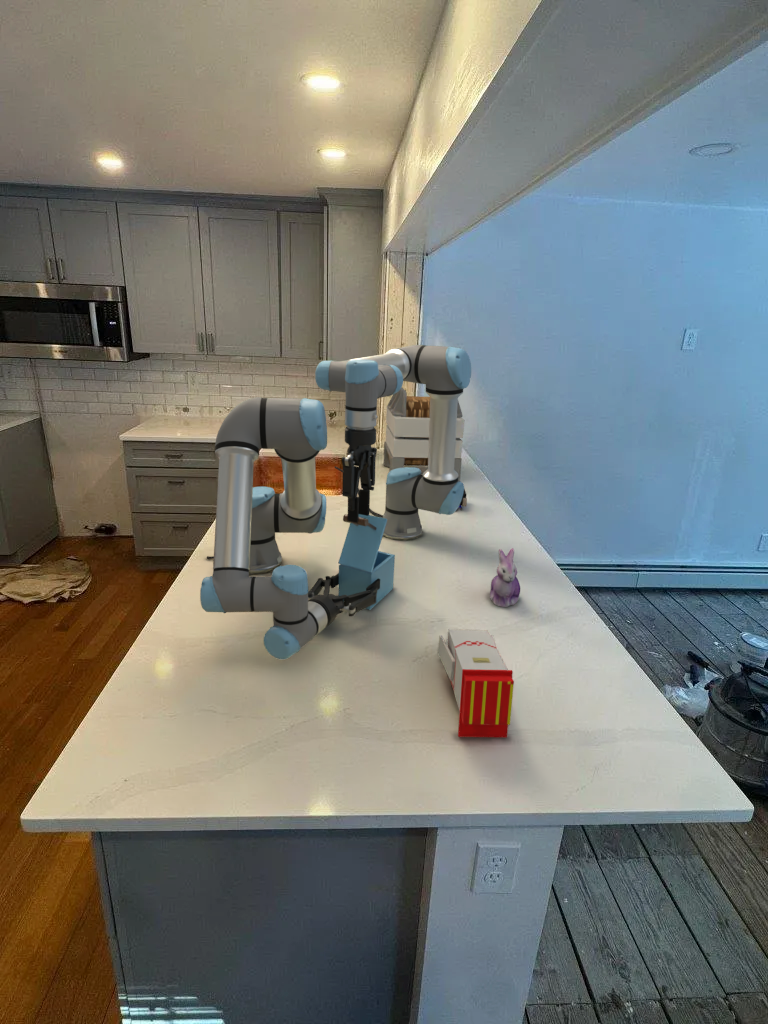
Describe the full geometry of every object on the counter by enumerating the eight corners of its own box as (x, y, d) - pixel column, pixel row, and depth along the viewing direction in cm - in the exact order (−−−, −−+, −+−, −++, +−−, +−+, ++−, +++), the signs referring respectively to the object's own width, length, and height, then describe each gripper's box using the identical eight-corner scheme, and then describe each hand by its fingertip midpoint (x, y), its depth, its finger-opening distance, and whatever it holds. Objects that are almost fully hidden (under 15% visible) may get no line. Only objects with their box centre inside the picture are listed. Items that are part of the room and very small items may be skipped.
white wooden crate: (382, 463, 289) (386, 382, 275) (445, 464, 293) (451, 384, 279) (390, 482, 257) (394, 392, 243) (460, 483, 261) (468, 394, 247)
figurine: (502, 611, 151) (509, 560, 146) (479, 594, 159) (485, 545, 154) (530, 604, 155) (537, 554, 150) (506, 588, 163) (512, 540, 158)
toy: (488, 613, 130) (523, 677, 101) (484, 667, 133) (517, 744, 104) (435, 612, 130) (455, 676, 101) (432, 666, 133) (451, 743, 103)
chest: (363, 580, 165) (364, 547, 161) (393, 588, 161) (395, 554, 157) (338, 600, 153) (338, 565, 149) (370, 610, 149) (371, 573, 145)
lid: (354, 512, 152) (340, 503, 144) (387, 519, 148) (374, 510, 140) (339, 563, 149) (324, 557, 142) (372, 572, 145) (358, 566, 138)
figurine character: (467, 515, 225) (461, 499, 238) (469, 498, 221) (463, 482, 235) (450, 514, 224) (445, 498, 238) (452, 497, 221) (447, 482, 234)
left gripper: (277, 616, 139) (325, 581, 158) (356, 642, 130) (398, 601, 149) (276, 589, 136) (326, 556, 155) (357, 613, 127) (399, 575, 146)
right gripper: (355, 435, 126) (353, 532, 134) (391, 422, 141) (387, 510, 149) (327, 431, 129) (326, 526, 137) (364, 419, 144) (362, 505, 153)
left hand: (361, 578), depth 152 cm, fingers closed on chest, 10 cm apart
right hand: (358, 517), depth 143 cm, fingers open, 5 cm apart
